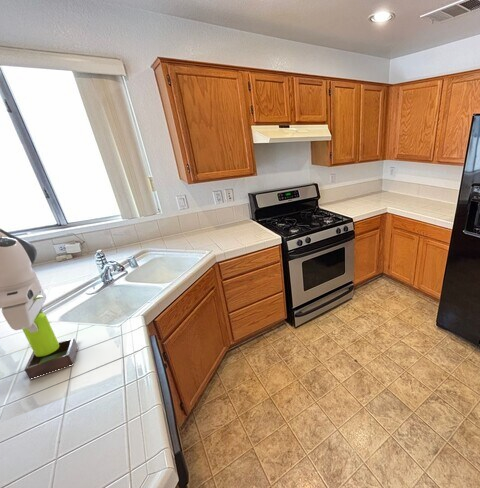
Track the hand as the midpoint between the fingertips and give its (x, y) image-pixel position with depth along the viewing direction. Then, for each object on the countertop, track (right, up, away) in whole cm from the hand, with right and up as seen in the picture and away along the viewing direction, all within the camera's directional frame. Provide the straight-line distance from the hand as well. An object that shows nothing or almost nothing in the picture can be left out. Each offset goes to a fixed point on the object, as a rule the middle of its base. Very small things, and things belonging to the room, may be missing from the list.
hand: (38, 325), depth 86 cm
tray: (0, -15, +6) cm, 16 cm away
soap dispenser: (0, -10, +4) cm, 10 cm away
